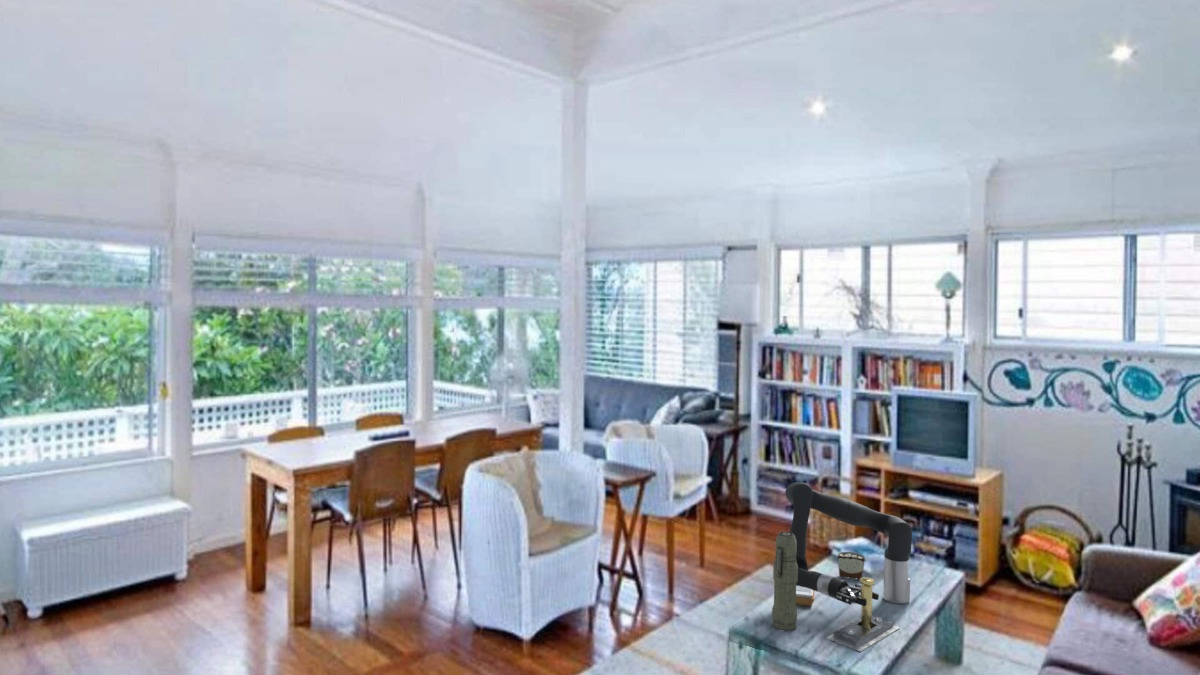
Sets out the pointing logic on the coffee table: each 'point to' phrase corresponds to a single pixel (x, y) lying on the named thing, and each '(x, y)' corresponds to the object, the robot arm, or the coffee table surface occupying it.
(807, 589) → the soap dish
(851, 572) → the food container
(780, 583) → the thermos
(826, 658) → the coffee table surface
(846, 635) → the bolted mounting plate
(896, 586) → the robot arm
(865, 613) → the brass pin
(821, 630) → the coffee table surface
